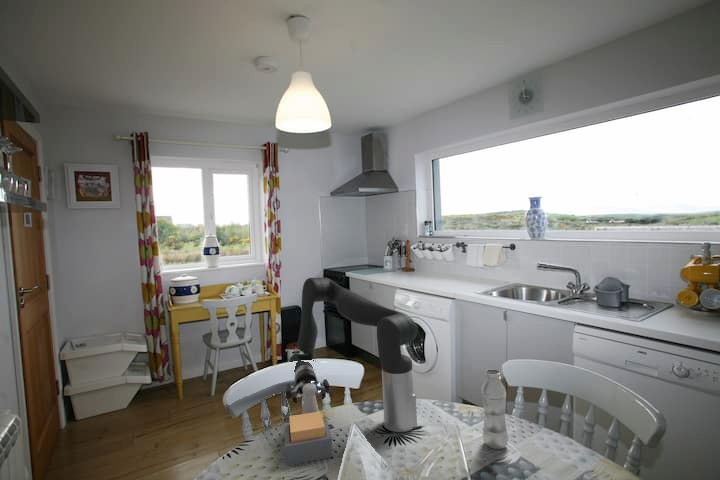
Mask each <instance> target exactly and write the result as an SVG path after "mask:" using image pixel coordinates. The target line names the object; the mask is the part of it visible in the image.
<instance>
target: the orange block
mask: <svg viewBox="0 0 720 480" xmlns="http://www.w3.org/2000/svg"><path fill="white" fill-rule="evenodd" d="M322 417H323V414H322V411H320V410H319V412H313V413H306V414H302V413H301V414H296V415H293V414H292V415H289V422H290V436H291V443H292V442H298V441H304V440H310V439H316V438H322V437H325V426H324V422H323V418H322Z"/></svg>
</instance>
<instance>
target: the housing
mask: <svg viewBox="0 0 720 480" xmlns="http://www.w3.org/2000/svg"><path fill="white" fill-rule="evenodd" d="M322 418H323V422H324V426H325V437H322V438H316V439H310V440H304V441H298V442H292V443H291V436H290V421H289V422H283V424H284V425H283V426H284V444H285V445H284V447H285V465H286V466H291V465H297V464H301V463H307V462H312V461H313V462H314V461H317V460H323V459H328V458H333V438H332V434H331V431H330V427H329V424H328V420H327V416H322Z"/></svg>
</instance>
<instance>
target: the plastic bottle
mask: <svg viewBox="0 0 720 480" xmlns="http://www.w3.org/2000/svg"><path fill="white" fill-rule="evenodd" d="M480 390H481V391H480V392H481V398H482V403H483V414H484V415H483V416H484V417H483V418H484V419H483V428H482V437H483V438H482V439H483V442H484V444H485V445H486V446H487V447H488V448H491V449H494V450H503V449H505V448H506V447H507V445H508V441H509V435H508V429H507V424H506V423H507V422H506V413H505V412H506V402H507V390H506V387H505V386H504V384H503V383H502V382H501V372H500V370H497V369H495V368H493V369H492V368H491V369H490V368H489V369H488V368H487V369H486V371H485V381H484V383H483V384H482V386H481V389H480Z"/></svg>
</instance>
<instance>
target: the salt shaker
mask: <svg viewBox="0 0 720 480" xmlns="http://www.w3.org/2000/svg"><path fill="white" fill-rule="evenodd" d="M302 391H303V394H304V395H303V403H302V411H301V414H306V413H313V412H319V411H320V410H319V407H318V405H319V404H318V402H317V397H316V396H317V395H316V394H315V393H316V391H317V388H316V385H315V384H313V383H308V384H305V385H304V386H303V388H302Z"/></svg>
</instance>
